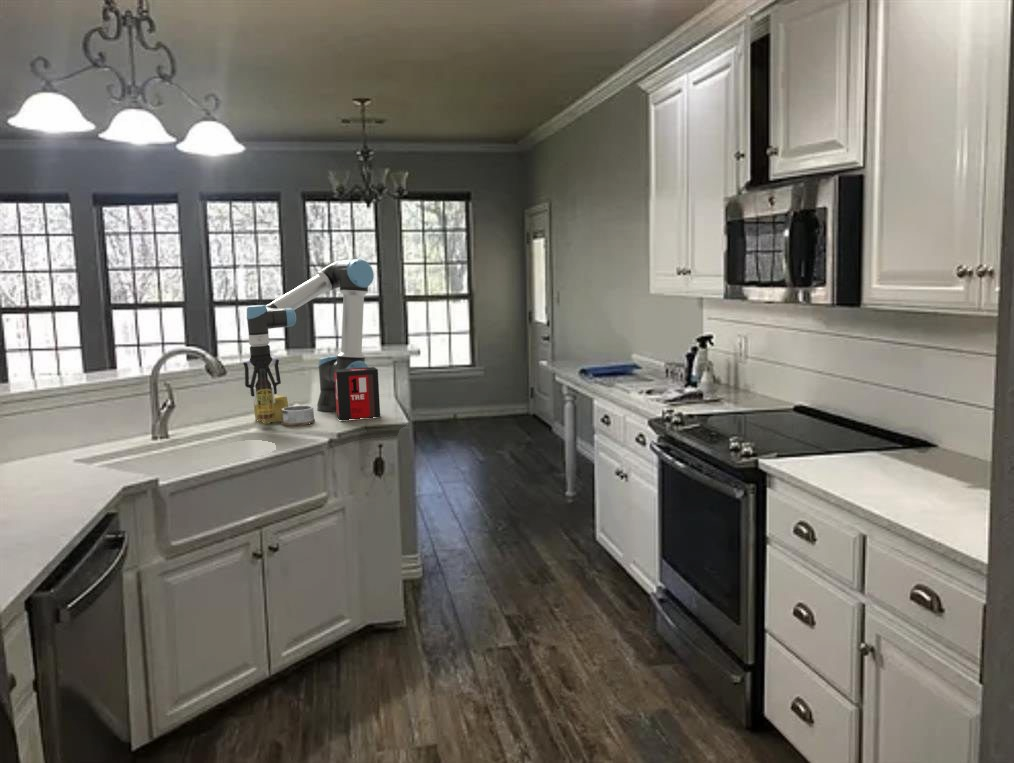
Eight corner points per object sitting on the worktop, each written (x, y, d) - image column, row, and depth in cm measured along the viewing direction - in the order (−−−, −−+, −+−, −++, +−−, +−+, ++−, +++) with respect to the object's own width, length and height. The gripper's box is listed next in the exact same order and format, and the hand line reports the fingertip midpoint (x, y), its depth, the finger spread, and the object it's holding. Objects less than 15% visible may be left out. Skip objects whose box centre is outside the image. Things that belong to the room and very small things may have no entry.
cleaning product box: (339, 421, 346) (336, 372, 343) (336, 417, 354) (333, 369, 351) (380, 417, 351) (377, 369, 348) (376, 414, 359) (374, 367, 356)
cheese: (265, 424, 346) (263, 399, 344) (253, 420, 354) (252, 396, 352) (289, 420, 353) (287, 396, 351) (277, 417, 361) (275, 393, 359)
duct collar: (310, 416, 353) (310, 404, 352) (316, 421, 342) (315, 409, 341) (280, 419, 348) (279, 407, 348) (285, 424, 337) (284, 412, 337)
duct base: (311, 418, 354) (311, 416, 354) (317, 423, 342) (317, 421, 342) (279, 421, 349) (279, 419, 349) (284, 427, 337) (284, 424, 337)
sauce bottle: (258, 420, 335) (253, 370, 332) (256, 417, 341) (251, 368, 338) (275, 418, 338) (270, 368, 334) (273, 415, 343) (268, 366, 340)
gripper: (235, 348, 328) (240, 407, 331) (285, 343, 335) (290, 402, 338) (233, 346, 335) (238, 404, 338) (283, 342, 342) (287, 399, 345)
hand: (264, 403), depth 338 cm, fingers closed on sauce bottle, 6 cm apart
